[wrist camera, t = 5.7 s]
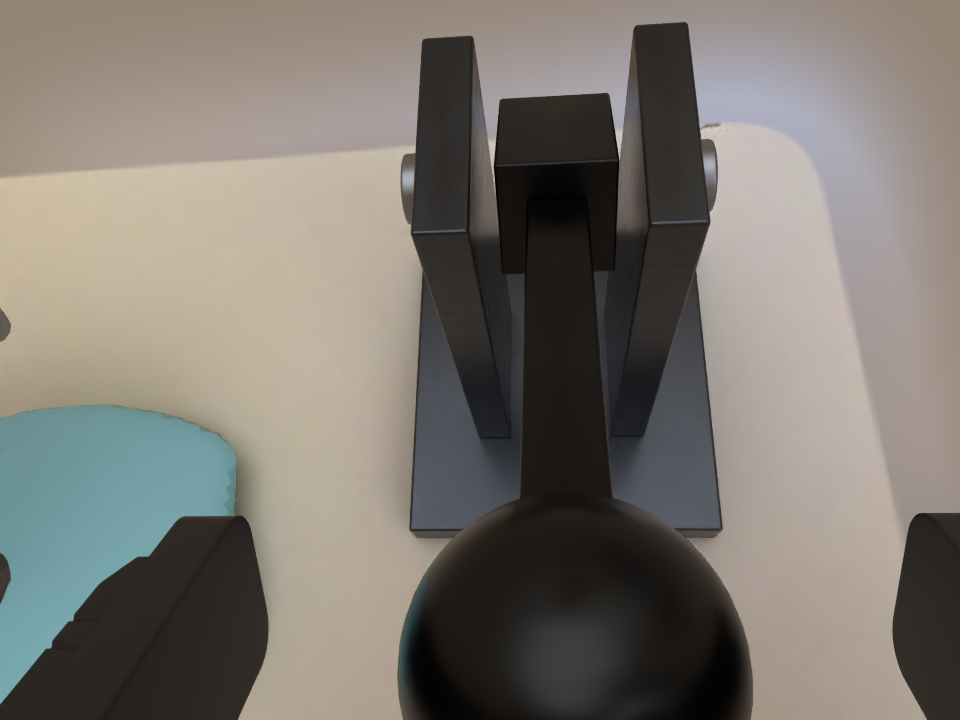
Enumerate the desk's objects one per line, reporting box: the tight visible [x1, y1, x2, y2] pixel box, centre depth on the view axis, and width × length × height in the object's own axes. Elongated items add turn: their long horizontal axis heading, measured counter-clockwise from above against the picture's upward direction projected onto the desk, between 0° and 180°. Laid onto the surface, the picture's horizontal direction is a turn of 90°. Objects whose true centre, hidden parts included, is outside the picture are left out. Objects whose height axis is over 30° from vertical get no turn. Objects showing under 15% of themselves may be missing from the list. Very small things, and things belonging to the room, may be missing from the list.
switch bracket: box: [401, 22, 723, 538], centre depth 20 cm, size 10×9×13 cm
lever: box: [397, 93, 753, 720], centre depth 12 cm, size 13×4×4 cm, turn 179°
